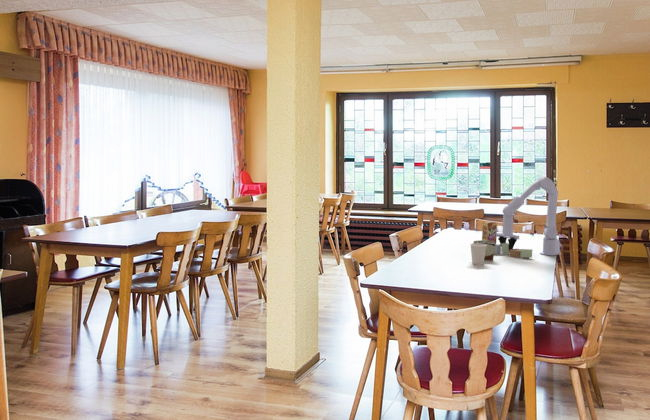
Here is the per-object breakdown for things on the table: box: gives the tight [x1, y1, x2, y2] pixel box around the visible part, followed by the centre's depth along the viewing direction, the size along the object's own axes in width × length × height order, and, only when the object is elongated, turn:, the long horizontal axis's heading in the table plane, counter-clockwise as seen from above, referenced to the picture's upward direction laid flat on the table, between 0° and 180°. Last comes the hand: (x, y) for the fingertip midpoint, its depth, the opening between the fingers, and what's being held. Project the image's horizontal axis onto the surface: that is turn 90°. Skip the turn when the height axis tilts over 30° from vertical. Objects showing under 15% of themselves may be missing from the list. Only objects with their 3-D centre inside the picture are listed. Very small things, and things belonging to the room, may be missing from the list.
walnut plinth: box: [509, 248, 522, 259], centre depth 351 cm, size 6×6×4 cm
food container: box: [472, 239, 497, 262], centre depth 340 cm, size 12×6×10 cm, turn 65°
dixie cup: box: [469, 243, 487, 265], centre depth 327 cm, size 8×8×10 cm
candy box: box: [481, 221, 498, 244], centre depth 386 cm, size 9×4×15 cm, turn 123°
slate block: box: [494, 243, 502, 256], centre depth 360 cm, size 4×4×6 cm
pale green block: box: [520, 248, 533, 260], centre depth 345 cm, size 3×6×5 cm, turn 72°
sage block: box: [501, 242, 510, 255], centre depth 363 cm, size 4×4×6 cm
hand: (507, 250), depth 364 cm, fingers closed on sage block, 4 cm apart
